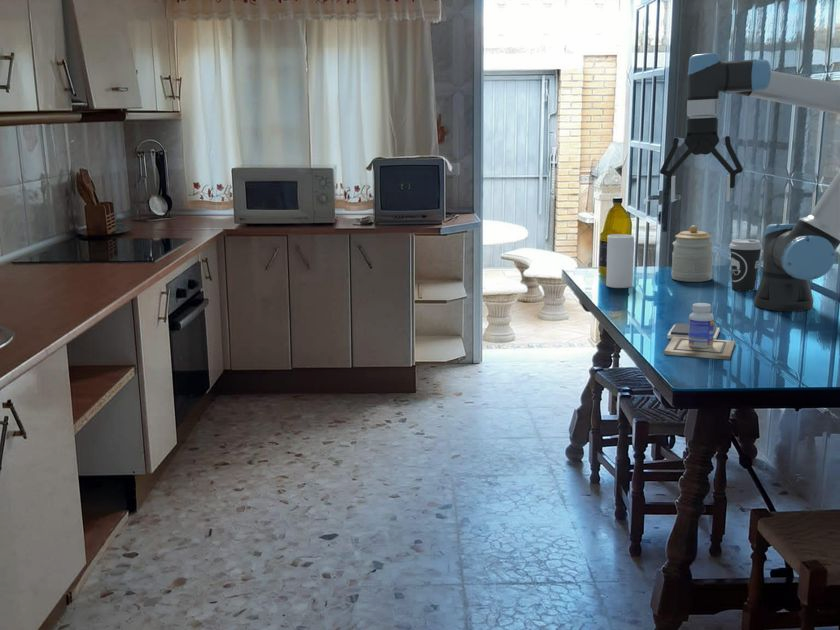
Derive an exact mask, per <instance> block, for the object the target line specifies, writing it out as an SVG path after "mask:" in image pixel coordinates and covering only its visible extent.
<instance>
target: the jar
mask: <svg viewBox="0 0 840 630" xmlns="http://www.w3.org/2000/svg"><path fill="white" fill-rule="evenodd" d="M674 237H675V240H674V241H673V242H672V245H673V251H672V252H671V253H672V256H671V257H672V260H671V262H672V264H671V279H673V280H675V281H680V282H689V283H693V282H695V283H699V282H708V281H711V280H712V277H713V273H714V272H713V258H714V257H713V256H714V252H713V246H714V245H715V242H713V241H712V240H711V239H712V237H713V236H712V235H711V234H709V233H708V232H706V231H702V230H701V231H699V228H698V226H697V225H691V226H690V227H689V230H684V231H680V232H679V233H678V234H675V235H674Z"/></svg>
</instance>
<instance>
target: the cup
mask: <svg viewBox="0 0 840 630" xmlns="http://www.w3.org/2000/svg"><path fill="white" fill-rule="evenodd" d="M606 239H607V240H606V241H607V242H606V281H605V283H606V284H605V285H606V287H608V288H614V289H627V288H631V287H633V286H634V285H633V283H634V281H633V280H634V252H635V251H634V248H635V247H634V246H635V241H634V240H635V235H633V234H623V233H621V234H620V233H618V234H617V233H615V234H614V233H613V234H608V235H607V237H606Z"/></svg>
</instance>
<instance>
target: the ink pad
mask: <svg viewBox="0 0 840 630" xmlns="http://www.w3.org/2000/svg"><path fill="white" fill-rule="evenodd" d="M720 331H721V328H720V327H718V326H717V325H714V329H713V339H715V340H718V339H717V338H718V336H719V333H720ZM673 337H687V338H689V323H680V322H677V323H675V324H673V326H672V327H671V328H670V330H669V331H668V333H667V336H666V339H667V340H671V339H672V338H673Z"/></svg>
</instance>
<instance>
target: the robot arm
mask: <svg viewBox="0 0 840 630" xmlns="http://www.w3.org/2000/svg"><path fill="white" fill-rule="evenodd" d="M687 69H688V70H687V102H686V103H687V106H686V114H687V115H686V116H687V117H689V118H687V120H686V134H685V135H686V136H685V138H680V137H674V138H673V141H672V142H673V143H672V147H671V149H670V151H669V153H668V155H667V157H666V159H665V160H664V163H663V165H662V166H661V168H660V170H659V173H660V174H661V175H664V176H665V177H666V189H668V190H670V203H674V202H676V175H673V174H675V172H676V171H677V170H678V169H679V168H680V167H681V165H682V164H683V163H684V162H685V161H686V160H687V159H688V158H689V156H691V154H692V155H695V156H696V155H697V156H699V155H704V156H706V155H709V154H712V155H713V156H714V158H716V160H717V161H718V162H719V163H720V164H721V165H722V167H723V168H724V169H725V170H726V171H727V172H728V173H729V174H727V175H726V192H725V193H726V194H725V195H726V197H725V199H726V200H725V201H726V203H727V202H730V201H731V189H733V188H735V187H736V175H738V174H741V173H742V172H744V168H743V166H742V164H741V162H740V160H739V158H738V156H737V154H736V151H735V150H734V148H733V145H732V141H731V136H730V135H726V136H721V137H719V136H718V131H719V130H718V127H719V125H718V124H719V119H718V117H716V116H718V115H719V98H720V96H719V94H720V93H723V94H726V95H727V94H728V95H731V94H733V95H738V96H744V97H748V98H749V97H750V98H756V99H759V100H766V101H770V102H775V103H780V104H785V105H792V106H796V107H800V108H804V109H810V110H816V111H820V112H826V113H831V114H836V115H840V83H838V82H832V81H827V80H821V79H818V78H813V77H807V76H801V75H797V74H791V73H786V72H782V71H775V70H772V68H771V64H770V62H769V60H767V59H757V58H755V59H745V60H730V61H725V60H722V59H721V55H720V54H719V53H709V52H708V53H699V54H693V55H691V56H690V57H689V59H688V68H687ZM683 143H684V144H685V146H686V147H687V150H686V151H685V152H684V153H683V154H682V156H681V157H680V158H678V160H677V161H676V162H675V164H673V165H672V166H671V168H670V169H669V170H667V169H668V168H669V166H670V165H671V162H672V160H673V158H674V156H675V155H676V153H677V151H678V149H679V147H682V145H683ZM718 143H721V144H722V145H723V146H725V148H726V150H727V152H728V154H729V155H730V159H732V162H733V165H734V166H735V169H734V168H733V167H732V165H730V163H729V162H728V161H727V160H726V159H725V158H724V156H723V155H722V154H721V153H720V152H719V150H718V149H717V148H716V146H717V145H718ZM764 231H765V232H764V235H763V238H764V246H763V261H762V262H763V263H762V264H763V265H762V278H761V280H760V283H759V285H758V288H757V290H756V292H755V296H754V301H753V302H754V306H755V307H757V308H759V309H760V308H761V309H763V310H769V311H776V312H777V311H778V312H803V311H804V312H805V311H810V310H812V309H813V308H814V296H813V294H812V293H813V292H812V290H811V286H810V282H809V281H813V280H816V279H819V278H821V277H824V276H825V275H826V274H828V272H830V270H831V269H832V267H833V266H834V263H835V261H836V251H837V249H838V247H839V246H840V169H839V170H838V172H837V173H836V174H835V176H834V178H833V179H832V181H831V182H830V183H829V185H828V186H827V189H825V191H824V193H823V194H822V196H821V197H820V198H819V200H818V202H817V203H816V204H815V206H814V207H813V209H812V211H811V212H810V213H809V215H807V216H805V217H801V218H799V219H798V221H797V222H796V223H771V224H768V225H767V226H766V227H765V230H764Z"/></svg>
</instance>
